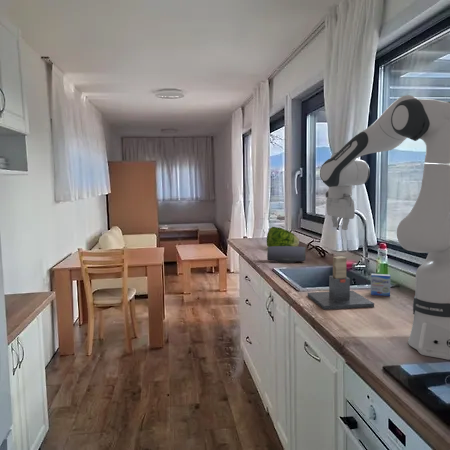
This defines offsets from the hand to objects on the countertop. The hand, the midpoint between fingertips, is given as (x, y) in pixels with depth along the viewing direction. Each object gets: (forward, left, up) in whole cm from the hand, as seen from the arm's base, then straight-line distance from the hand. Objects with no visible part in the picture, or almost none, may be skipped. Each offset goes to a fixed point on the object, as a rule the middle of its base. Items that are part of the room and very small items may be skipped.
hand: (339, 228), depth 171 cm
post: (0, 0, -28) cm, 28 cm away
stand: (0, 0, -30) cm, 30 cm away
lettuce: (+96, -96, -30) cm, 139 cm away
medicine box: (-8, -21, -30) cm, 37 cm away
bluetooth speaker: (+66, -58, -30) cm, 93 cm away
